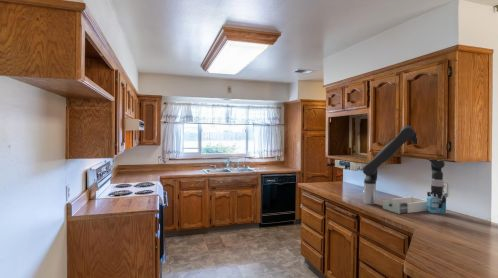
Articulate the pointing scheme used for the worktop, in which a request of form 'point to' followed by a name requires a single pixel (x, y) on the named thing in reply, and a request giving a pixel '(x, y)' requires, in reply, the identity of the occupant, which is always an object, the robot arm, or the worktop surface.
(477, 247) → the worktop surface
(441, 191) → the robot arm
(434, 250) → the worktop surface
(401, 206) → the drawer
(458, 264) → the worktop surface
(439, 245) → the worktop surface
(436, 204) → the data package
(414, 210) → the cubby
